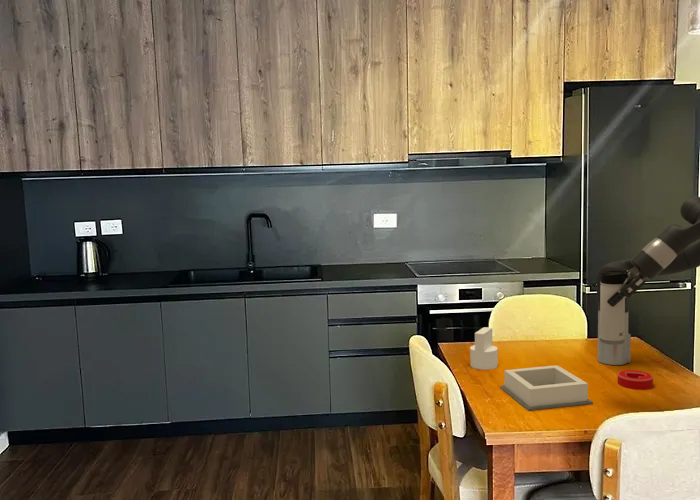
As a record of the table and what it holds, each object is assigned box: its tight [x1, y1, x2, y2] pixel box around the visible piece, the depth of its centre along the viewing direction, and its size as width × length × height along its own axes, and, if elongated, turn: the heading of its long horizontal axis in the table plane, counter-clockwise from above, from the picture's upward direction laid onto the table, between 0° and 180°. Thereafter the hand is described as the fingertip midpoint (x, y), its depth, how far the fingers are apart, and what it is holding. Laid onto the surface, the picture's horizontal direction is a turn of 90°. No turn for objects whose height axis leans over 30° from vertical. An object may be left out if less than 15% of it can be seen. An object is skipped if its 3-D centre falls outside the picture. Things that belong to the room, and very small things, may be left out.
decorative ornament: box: [617, 369, 654, 391], centre depth 187 cm, size 10×10×3 cm
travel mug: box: [600, 270, 627, 345], centre depth 172 cm, size 6×7×20 cm
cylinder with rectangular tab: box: [469, 326, 499, 371], centre depth 209 cm, size 9×9×12 cm
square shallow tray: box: [499, 365, 594, 412], centre depth 180 cm, size 19×19×6 cm
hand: (606, 301), depth 172 cm, fingers closed on travel mug, 6 cm apart
